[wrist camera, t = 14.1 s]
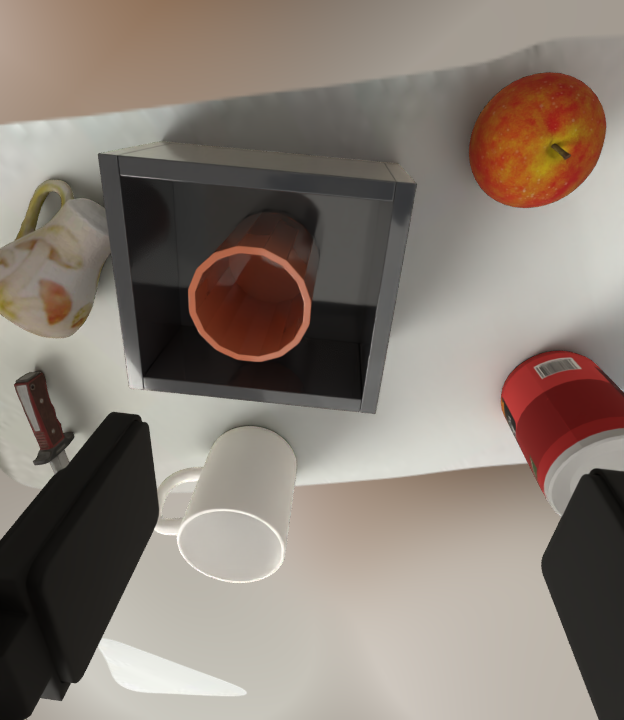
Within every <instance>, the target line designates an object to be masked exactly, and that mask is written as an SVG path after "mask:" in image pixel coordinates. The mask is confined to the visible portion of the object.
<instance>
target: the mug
mask: <svg viewBox="0 0 624 720" xmlns="http://www.w3.org/2000/svg"><path fill="white" fill-rule="evenodd" d="M53 191H54V192H57V193H58V194H59V196H60V197H61V209H60V210H59V211H58V213H57V214H56V215H55V216H54V217H53V218H52V219H51V221H49V222H48V223H47V224H45V225H44V226H43V227H41V228H39V229H37V230H35V229H36V225H37V220H38V216H39V213H40V210H41V207H42V205H43V202H44V200H45V199H46V197H47V195H48V194H49V192H53ZM110 253H111V249H110V241H109V234H108V226H107V219H106V211H105V208H104V207H102V206H101V205H99V204H97V203H96V202H94V201H92V200H90V199H86V198H77V199H74V196H73V192H72V189H71V187H70V186H69V185H68V184H67V183H66V182H64V181H61V180H47V181H45V182H43V183H42V184H41V185H39V186H38V187H37V189H36V190H35V192H34V195H33V197H32V199H31V201H30V204H29V207H28V210H27V213H26V216H25V219H24V221H23V222H22V224H21V229H20V231H19V233H18V236H17V238H16V239H15V241H13V242H11V243H9V244H7V245H5V246H4V247H2V248H1V249H0V314H1V315H2V316H3V317H5V318H6V319H8V320H9V321H11V322H12V323H14V324H16V325H17V326H19V327H21V328H22V329H24V330H26V331H28V332H31V333H33V334H36V335H38V336H41V337H47V338H66V337H69V336H71V335H73V334H74V333H75V332H76V331H77V330H78V329H79V328H80V327H81V326H82V325H83V323H84V322H85V321H86V319H87V317H88V316H89V313H90V311H91V309H92V306H93V303H94V299H95V295H96V290H97V286H98V282H99V277H100V273H101V269H102V267H103V265H104V263H105V261H106V259H107V257H108V256H109V254H110Z"/></svg>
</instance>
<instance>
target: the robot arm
mask: <svg viewBox="0 0 624 720" xmlns="http://www.w3.org/2000/svg"><path fill="white" fill-rule="evenodd" d="M158 517H159V502H158V494H157V487H156V479H155V471H154V463H153V455H152V447H151V439H150V431H149V426H148V424H147V423H146V422H142V420H141V417H140V416H139V415H136V414H127V413H118V412H112V413H110V414H109V415H108V416H107V417H106V418H105V419H104V421H103V422H102V423H101V424H100V426H99V427H98V428H97V429H96V431H95V432H94V433H93V434H92V435H91V437H90V438H89V439H88V440H87V442H86V443H85V444H84V445H83V447H82V448H81V449H80V450H79V452H78V453H77V454H76V455H75V457H74V458H73V459H72V460H71V462H70V463H69V464H68V465H67V466H66V468H63V469H61V470H59V471H58V472H57V473H56V474H55V475H54V476H53V477H52V478H51V479H50V480H49V482H48V483H47V484H46V485H45V487H44V488H43V489H42V490H41V491H40V493H39V494H38V495H37V497H36V498H35V499H34V500H33V501H32V502H31V504H30V505H29V506H28V507H27V509H26V510H25V511H24V512H23V513H22V515H21V516H20V517H19V518H18V520H17V521H16V522H15V523H14V525H13V526H12V527H11V528H10V529H9V531H8V532H7V533H6V534H5V535H4V536H3V538H2V539H1V540H0V720H27V718H28V717H29V716H30V715H31V714H32V712H33V710H34V708H35V706H36V705H37V703H38V701H39V699H40V698H44V699H51V700H58V701H62V699H63V698H64V696H65V694H66V692H67V690H68V688H69V686H70V684H71V683H77V682H79V681H80V679H81V678H82V677H83V675H84V673H85V671H86V669H87V667H88V665H89V663H90V660H91V659H92V657H93V655H94V652H95V650H96V648H97V646H98V644H99V642H100V640H101V638H102V636H103V634H104V632H105V630H106V628H107V626H108V624H109V622H110V619H111V617H112V615H113V613H114V611H115V609H116V607H117V605H118V603H119V601H120V599H121V596H122V595H123V593H124V590H125V588H126V586H127V584H128V582H129V580H130V578H131V576H132V574H133V572H134V570H135V568H136V566H137V564H138V562H139V559H140V557H141V555H142V553H143V551H144V549H145V547H146V545H147V543H148V541H149V539H150V537H151V535H152V533H153V530H154V528H155V526H156V524H157V521H158ZM541 563H542V565H541V567H542V573H543V576H544V579H545V581H546V584H547V586H548V589H549V592H550V594H551V597H552V599H553V602H554V605H555V607H556V610H557V612H558V615H559V618H560V620H561V623H562V625H563V628H564V630H565V633H566V636H567V638H568V641H569V644H570V646H571V649H572V651H573V654H574V657H575V659H576V662H577V664H578V667H579V670H580V672H581V675H582V677H583V680H584V682H585V685H586V688H587V690H588V693H589V695H590V697H591V701H592V703H593V706H594V708H595V711H596V714H597V716H598V719H599V720H624V471H618V470H609V469H600V468H594V469H593V470H591V471H590V473H589V474H584V475H582V477H581V478H580V480H579V482H578V484H577V486H576V488H575V490H574V492H573V495H572V497H571V499H570V501H569V503H568V505H567V507H566V509H565V511H564V513H563V515H562V517H561V519H560V521H559V523H558V526H557V528H556V530H555V532H554V534H553V536H552V538H551V540H550V542H549V544H548V547H547V548H546V550H545V552H544V555H543V557H542V562H541Z"/></svg>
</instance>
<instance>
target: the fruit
mask: <svg viewBox="0 0 624 720" xmlns="http://www.w3.org/2000/svg"><path fill="white" fill-rule="evenodd" d="M605 134H606V118H605V113H604V110H603V107H602V105H601V103H600V101H599V99H598V97H597V96H596V95H595V93H594V92H593V91H592V90H591V88H589V87H588V86H587V85H586V84H585V83H583V82H582V81H580V80H578V79H576V78H574V77H572V76H569V75H565V74H562V73H551V72H548V73H538V74H533V75H530V76H526V77H523V78H521V79H519V80H517V81H514V82H513V83H511V84H509V85H508V86H506V87H505V88H503V89H502V90H501V91H500V92H498V93H497V94H496V95H495V96H494V97H493V98H492V99H491V100H490V101H489V102H488V104H487V105H486V106H485V107H484V109H483V110H482V112H481V113H480V115H479V117H478V119H477V121H476V123H475V125H474V128H473V131H472V134H471V139H470V144H469V160H470V166H471V170H472V173H473V175H474V178H475V180H476V181H477V183H478V184H479V186H480V188H481V189H482V190H483V191H484V192H485V193H486V194H487V195H488V196H490V197H491V198H493V199H494V200H496V201H498V202H500V203H502V204H504V205H508V206H512V207H520V208H531V207H539V206H543V205H547V204H550V203H553V202H555V201H558V200H560V199H561V198H563V197H565V196H567V195H568V194H570V193H571V192H572V191H574V190H575V189H576V188H577V187H578V186H579V185H580V184H582V183H583V182H584V180H585V179H586V178H587V177H588V176H589V174H590V173H591V172H592V170H593V169H594V167H595V166H596V163H597V161H598V159H599V156H600V153H601V150H602V147H603V143H604V139H605Z"/></svg>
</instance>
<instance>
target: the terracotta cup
mask: <svg viewBox="0 0 624 720" xmlns="http://www.w3.org/2000/svg"><path fill="white" fill-rule="evenodd" d="M318 268H319V253H318V249H317V245H316V243H315V240H314V239H313V237H312V235H311V234H310V232H309V231H308V230H307V228H306V227H305V226H304V225H303V224H301V223H300V222H299V221H298V220H296V219H294V218H293V217H291V216H288V215H286V214H283V213H279V212H260V213H256V214H253V215H251V216H249V217H247V218H245V219H243V220H242V221H241V222H240V223H239V224H238V225H237V226H236V227H235V228H233V229H232V230H231V231H230V232H229V234H228V235H227V236H226V237H225V238H224V239H223V240H222V241H221V242H220V243H219V244H218V246H217V247H216V248H215V249H214V250H213V251H212V252H211V253H210V254H209V255H208V257H207V258H206V259H205V260H204V261H203V262H202V263H201V264H200V265H199V266H198V267H197V269H196V271H195V273H194V276H193V278H192V281H191V283H190V286H189V288H188V300H189V312H190V315H191V317H192V320H193V322H194V324H195V326H196V328H197V330H198V332H199V333H200V335H201V336H202V337H203V338H204V339H205V340H206V341H207V342H208V343H209V344H210V345H211V346H213V347H214V348H215V349H216V350H217V351H219V352H222V353H224V354H226V355H228V356H230V357H232V358H234V359H237V360H244V361H254V362H262V361H266V360H270V359H274V358H278V357H281V356H283V355H284V354H286V353H287V352H288V351H290V350H291V349H292V348H294V347H295V346H296V345H298V344H299V343H300V341H301V339H302V337H303V336H304V334H305V332H306V330H307V329H308V327H309V324H310V319H311V313H312V307H313V301H314V295H315V289H316V283H317V277H318Z"/></svg>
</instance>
